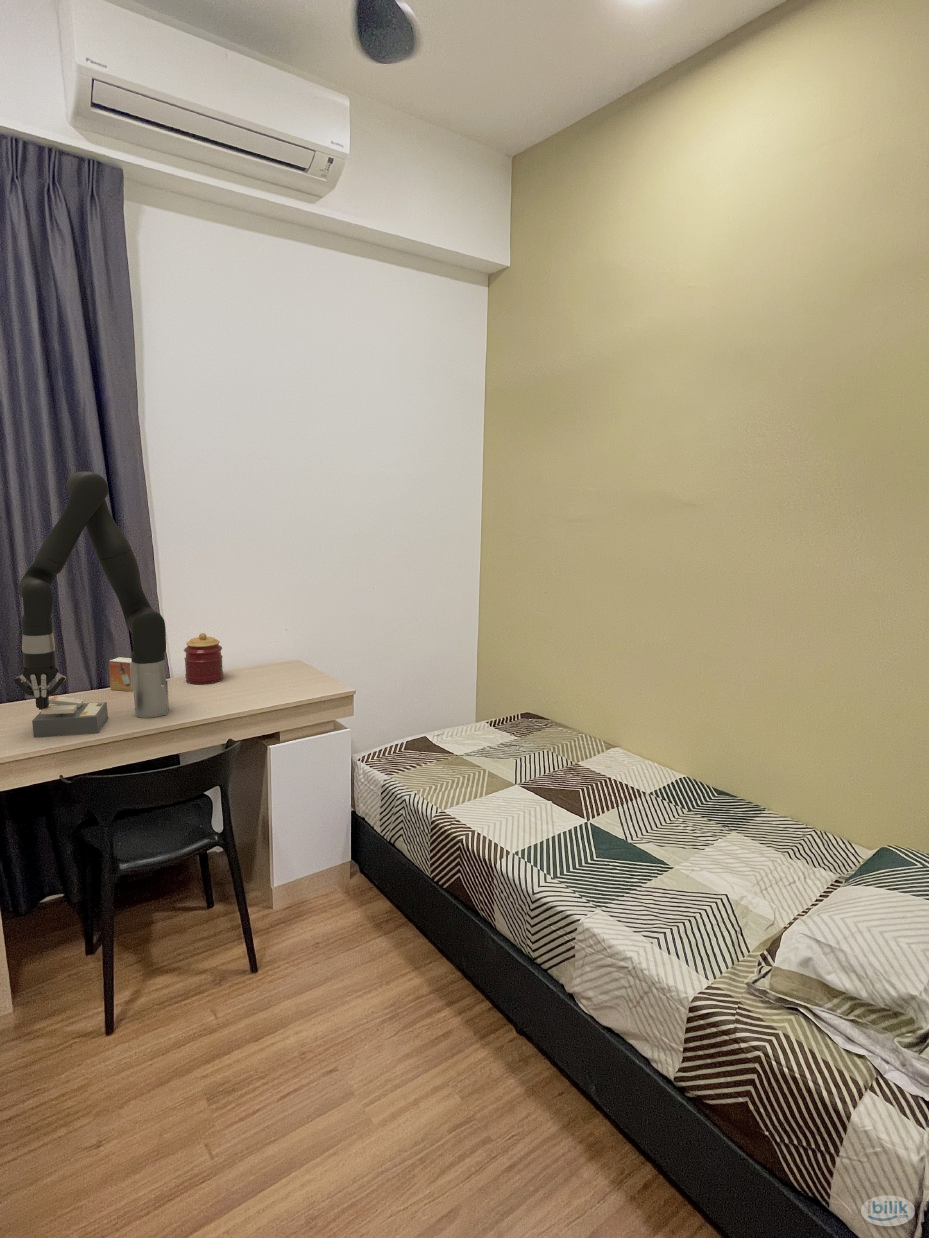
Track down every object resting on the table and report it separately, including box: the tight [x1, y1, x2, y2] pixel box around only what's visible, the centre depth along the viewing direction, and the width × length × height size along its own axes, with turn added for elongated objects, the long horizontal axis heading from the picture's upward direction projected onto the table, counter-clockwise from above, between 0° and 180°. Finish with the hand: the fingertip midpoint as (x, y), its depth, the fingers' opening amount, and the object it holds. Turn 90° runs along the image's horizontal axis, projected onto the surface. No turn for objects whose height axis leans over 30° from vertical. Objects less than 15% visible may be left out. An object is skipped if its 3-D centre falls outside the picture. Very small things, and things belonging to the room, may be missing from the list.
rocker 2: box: [40, 705, 77, 714], centre depth 184 cm, size 8×4×1 cm, turn 107°
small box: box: [108, 656, 134, 693], centre depth 224 cm, size 8×6×10 cm
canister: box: [183, 632, 224, 685], centre depth 237 cm, size 13×13×18 cm
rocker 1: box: [49, 695, 84, 707], centre depth 191 cm, size 8×4×1 cm, turn 108°
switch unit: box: [31, 701, 109, 739], centre depth 189 cm, size 16×13×6 cm
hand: (42, 708), depth 183 cm, fingers closed
